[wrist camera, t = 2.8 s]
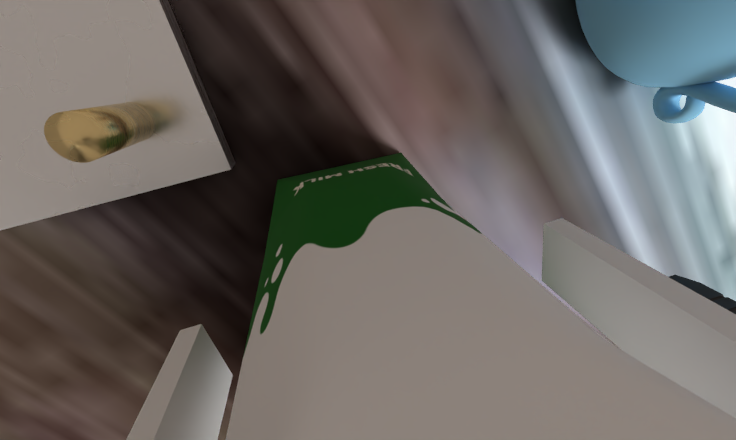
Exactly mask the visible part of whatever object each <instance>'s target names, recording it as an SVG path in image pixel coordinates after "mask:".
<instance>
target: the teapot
mask: <svg viewBox="0 0 736 440" xmlns="http://www.w3.org/2000/svg"><path fill="white" fill-rule="evenodd" d="M575 1H576V8H577V13H578V17H579V20H580V24H581V27H582V30H583V32H584V35H585V37H586V39H587V41H588V43H589V45H590V47H591V49H592V50H593V52H594V53H595V55H596V57H597V58H598V59H599V60H600V62H601V63H602V64H603V65H604V66H605V67H606V68H607V69H608V70H610V71H611V72H612V73H614V74H615V75H617V76H618V77H620V78H622V79H624V80H627V81H629V82H631V83H633V84H636V85H640V86H645V87H659V88H660V89H659V90H658V91H657V93H656V94H655V96H654V99H653V109H654V112H655V115H656V116H657V117H658V118H659V119H660V120H662V121H665V122H669V123H683V122H687V121H689V120H692V119H694V118H696V117H697V116H698V115H699V114H700V113H701V112H702V111H703V109H704V106H705V102H706V103H709V104H711V105H714V106H717V107H720V108H722V109H725V110H728V111H731V112H735V113H736V88H733V87H730V86H727V85H724V84H720V83H717V82H715V81H720V80H724V79H729V78H733V77H736V0H575ZM682 95H686V96H687V98H686V103H685V106H684V108H683V109H682V110H681V108H680V104H679V101H680V97H681V96H682Z"/></svg>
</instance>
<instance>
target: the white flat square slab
mask: <svg viewBox="0 0 736 440" xmlns="http://www.w3.org/2000/svg"><path fill="white" fill-rule="evenodd" d="M235 164H236V162H235V160H234V158H233V155H232V153H231V150H230V148H229V146H228V143H227V141H226V138H225V136H224V133H223V131H222V129H221V126H220V124H219V121H218V119H217V117H216V114H215V112H214V109H213V107H212V105H211V102H210V100H209V97H208V95H207V93H206V90H205V88H204V85H203V83H202V81H201V78H200V76H199V73H198V71H197V69H196V66H195V64H194V61H193V59H192V57H191V54H190V52H189V49H188V47H187V45H186V42H185V40H184V37H183V35H182V33H181V30H180V28H179V25H178V23H177V21H176V18H175V16H174V13H173V11H172V9H171V6H170V4H169V1H168V0H0V230H4V229H7V228H11V227H15V226H19V225H23V224H26V223H30V222H34V221H38V220H41V219H45V218H49V217H53V216H57V215H60V214H64V213H68V212H72V211H76V210H79V209H83V208H87V207H91V206H95V205H98V204H102V203H106V202H110V201H114V200H117V199H121V198H125V197H129V196H133V195H136V194H140V193H144V192H148V191H152V190H155V189H159V188H163V187H167V186H171V185H174V184H178V183H182V182H186V181H189V180H193V179H197V178H201V177H205V176H208V175H212V174H216V173H220V172H224V171H227V170H231V169H232V168H233V167H234V165H235Z"/></svg>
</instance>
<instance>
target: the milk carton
mask: <svg viewBox="0 0 736 440" xmlns="http://www.w3.org/2000/svg"><path fill="white" fill-rule="evenodd" d="M226 440H736V418H734V417H733V416H731V415H729V414H728V413H726V412H724V411H723V410H721V409H719V408H718V407H716V406H714V405H712V404H711V403H709V402H707V401H706V400H704V399H702V398H701V397H699V396H697V395H696V394H694V393H692V392H691V391H689V390H687V389H685V388H684V387H682V386H680V385H679V384H677V383H675V382H674V381H672V380H670V379H669V378H667V377H665V376H664V375H662V374H660V373H658V372H657V371H655V370H653V369H652V368H650V367H648V366H647V365H645V364H644V363H642V362H640V361H639V360H637V359H635V358H634V357H632V356H630V355H629V354H627V353H625V352H624V351H622V350H621V349H620V348H618V347H617V346H615V345H614V344H613V343H611V342H610V341H608V340H607V339H606V338H604V337H603V336H601V335H600V334H599V333H597V332H596V331H595V330H594V329H593V328H591V327H590V326H589V325H588V324H587V323H586V322H584V321H583V320H582V319H581V318H580V317H578V316H577V315H576V314H575V313H574V312H573V311H571V310H570V309H569V308H568V307H567V306H565V305H564V304H563V303H562V302H561V301H560V300H558V299H557V298H556V297H555V296H554V295H553V294H551V293H550V292H549V291H548V290H547V289H546V288H544V287H543V286H542V285H541V284H540V283H539V282H538V281H536V280H535V279H534V278H533V277H532V276H531V275H529V274H528V273H527V272H526V271H525V270H524V269H522V268H521V267H520V266H519V265H518V264H517V263H516V262H514V261H513V260H512V259H511V258H510V257H509V256H507V255H506V254H505V253H504V252H503V251H502V250H500V249H499V248H498V247H497V246H496V245H495V244H494V243H492V242H491V241H490V240H489V239H488V238H487V237H485V236H484V235H483V234H482V233H481V232H480V231H478V230H477V229H476V228H475V227H474V226H473V225H472V224H470V223H469V222H468V221H467V220H466V219H465V218H464V217H462V216H461V215H460V214H459V213H458V212H457V211H455V210H454V209H453V208H452V207H451V206H450V205H449V204H447V203H446V202H445V201H444V200H443V199H442V198H441V197H440V196H439V195H438V194H437V193H436V192H435V190H434V189H433V188H432V187H431V186H430V185H429V184H428V183H427V181H426V180H425V179H424V178H423V177H422V176H421V175H420V174H419V172H418V171H417V170H416V169H415V168H414V167H413V166H412V165H411V164H410V162H409V161H408V160H407V159H406V158H405V157H404V156H403V154H402V153H397V154H393V155H388V156H384V157H379V158H375V159H370V160H365V161H361V162H356V163H352V164H347V165H343V166H338V167H334V168H329V169H324V170H320V171H315V172H311V173H306V174H302V175H297V176H293V177H288V178H283V179H279V180H277V186H276V192H275V198H274V204H273V210H272V216H271V222H270V228H269V233H268V239H267V245H266V251H265V256H264V262H263V266H262V270H261V275H260V279H259V284H258V289H257V294H256V298H255V303H254V308H253V313H252V317H251V322H250V327H249V332H248V336H247V341H246V346H245V351H244V355H243V360H242V365H241V370H240V374H239V379H238V384H237V388H236V393H235V398H234V403H233V407H232V412H231V417H230V422H229V426H228V431H227V436H226Z"/></svg>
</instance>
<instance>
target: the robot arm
mask: <svg viewBox="0 0 736 440" xmlns="http://www.w3.org/2000/svg"><path fill="white" fill-rule="evenodd" d="M542 281H543V282H544V283H545V284H547V285H548V286H549V287H550V288H551V289H552V290H553V291H555V292H556V293H557V294H558V295H559V296H560V297H562V298H563V299H564V300H565V301H566V302H567V303H568V304H570V305H571V306H572V307H573V308H574V309H575V310H577V311H578V312H579V313H580V314H581V315H582V316H583V317H585V318H586V319H587V320H588V321H589V322H590V323H592V324H593V325H594V326H595V327H596V328H597V329H599V330H600V331H601V332H602V333H603V334H604V335H605V336H607V337H608V338H609V339H610V340H611V341H612V342H614V343H615V344H616V345H617V346H618V347H619V348H620V349H622V350H623V351H624V352H625V353H627V354H629V355H630V356H632V357H634V358H635V359H637V360H639V361H640V362H642V363H644V364H645V365H647V366H648V367H650V368H652V369H653V370H655V371H657V372H658V373H660V374H662V375H664V376H665V377H667V378H669V379H670V380H672V381H674V382H675V383H677V384H679V385H680V386H682V387H684V388H685V389H687V390H689V391H691V392H692V393H694V394H696V395H697V396H699V397H701V398H702V399H704V400H706V401H707V402H709V403H711V404H712V405H714V406H716V407H718V408H719V409H721V410H723V411H724V412H726V413H728V414H729V415H731V416H733V417H734V418H736V301H734V300H732V299H730V298H728V297H726V298H725V297H724V296H723V295H722V294H721V293H719V292H717V291H715V290H713V289H711V288H709V287H707V286H705V285H703V284H701V283H699V282H696V281H693V280H690V279H687V278H683V277H680V276H677V275H673V276H670V277H667V276H666V275H664V274H662V273H660V272H658V271H657V270H655V269H653V268H651V267H649V266H648V265H646V264H644V263H642V262H640V261H638V260H637V259H635V258H633V257H631V256H629V255H628V254H626V253H624V252H622V251H620V250H619V249H617V248H615V247H613V246H611V245H610V244H608V243H606V242H604V241H602V240H601V239H599V238H597V237H595V236H593V235H592V234H590V233H588V232H586V231H584V230H583V229H581V228H579V227H577V226H575V225H574V224H572V223H570V222H568V221H566V220H565V219H563V218H561V219H558V220H554V221H551V222H547V223H544V232H543V261H542ZM232 377H233V375H232V373H231V371H230V370H229V368H228V366H227V365H226V363H225V361H224V360H223V358H222V356H221V355H220V353H219V352H218V350H217V348H216V347H215V345H214V343H213V342H212V340H211V338H210V337H209V335H208V334H207V332H206V330H205V329H204V327H203V325H202V324H199V325H196V326H193V327H189V328H186V329H182V330H180V331H179V333H178V335H177V337H176V339H175V341H174V343H173V345H172V347H171V350H170V352H169V354H168V356H167V358H166V360H165V362H164V364H163V366H162V368H161V370H160V372H159V374H158V376H157V378H156V380H155V382H154V384H153V386H152V388H151V390H150V392H149V394H148V397H147V399H146V401H145V403H144V405H143V407H142V409H141V411H140V413H139V415H138V417H137V419H136V421H135V423H134V425H133V427H132V429H131V431H130V433H129V435H128V437H127V439H126V440H217V439H218V435H219V431H220V427H221V422H222V418H223V414H224V410H225V406H226V402H227V397H228V393H229V389H230V385H231V381H232Z"/></svg>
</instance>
